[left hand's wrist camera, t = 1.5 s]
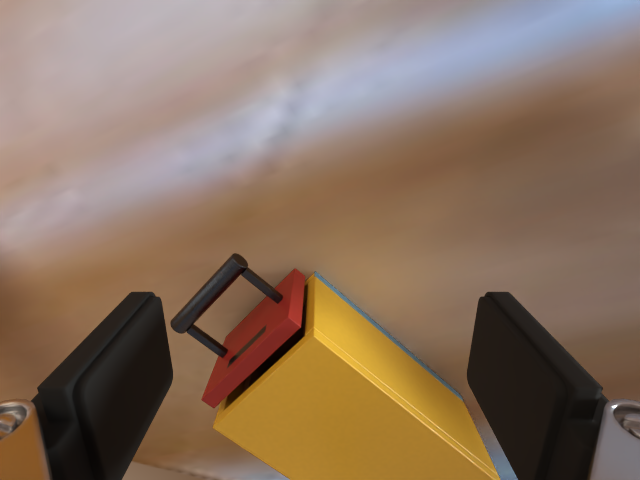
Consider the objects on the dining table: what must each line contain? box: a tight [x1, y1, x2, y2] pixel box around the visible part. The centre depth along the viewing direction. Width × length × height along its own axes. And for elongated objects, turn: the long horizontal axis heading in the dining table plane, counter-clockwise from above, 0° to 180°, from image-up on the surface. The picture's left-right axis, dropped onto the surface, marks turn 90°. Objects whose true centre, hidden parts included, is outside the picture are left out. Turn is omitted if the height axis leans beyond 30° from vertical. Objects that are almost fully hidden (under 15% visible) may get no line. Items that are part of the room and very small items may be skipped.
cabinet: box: [213, 271, 500, 480], centre depth 33 cm, size 20×11×10 cm, turn 47°
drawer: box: [171, 253, 307, 408], centre depth 32 cm, size 24×10×8 cm, turn 47°
